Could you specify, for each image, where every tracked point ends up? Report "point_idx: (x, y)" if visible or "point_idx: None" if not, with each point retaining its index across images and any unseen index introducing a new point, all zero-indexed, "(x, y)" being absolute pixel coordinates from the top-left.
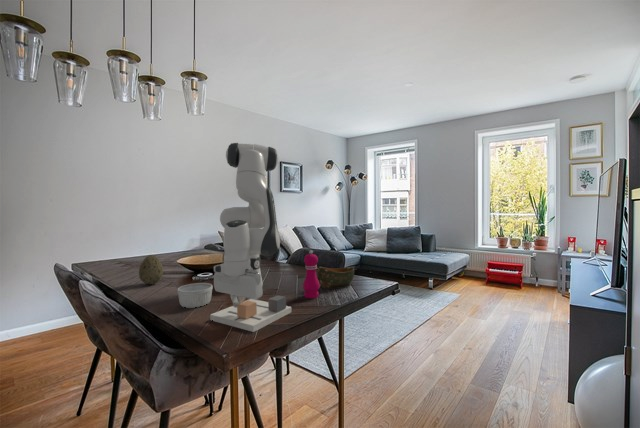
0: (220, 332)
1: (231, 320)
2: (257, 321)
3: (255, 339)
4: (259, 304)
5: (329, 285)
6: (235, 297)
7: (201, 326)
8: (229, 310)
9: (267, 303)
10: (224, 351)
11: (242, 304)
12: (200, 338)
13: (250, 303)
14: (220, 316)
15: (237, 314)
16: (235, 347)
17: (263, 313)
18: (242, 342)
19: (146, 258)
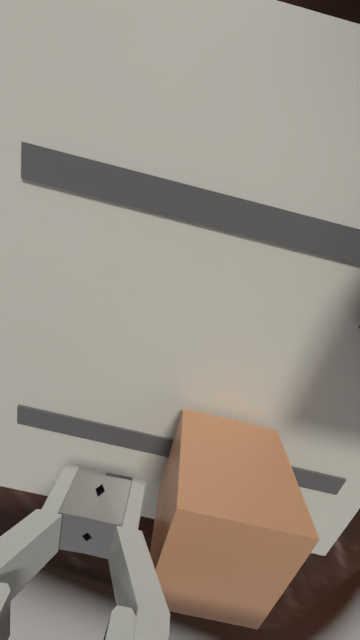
0: (149, 537)
1: (148, 515)
2: (328, 511)
3: (347, 563)
4: (166, 150)
5: None
6: (7, 578)
7: (10, 506)
8: (2, 390)
9: (254, 66)
10: (263, 628)
11: (190, 596)
12: (109, 581)
13: (260, 568)
14: (39, 488)
15: (157, 506)
16: (289, 610)
17: (322, 388)
18: (299, 584)
19: None
